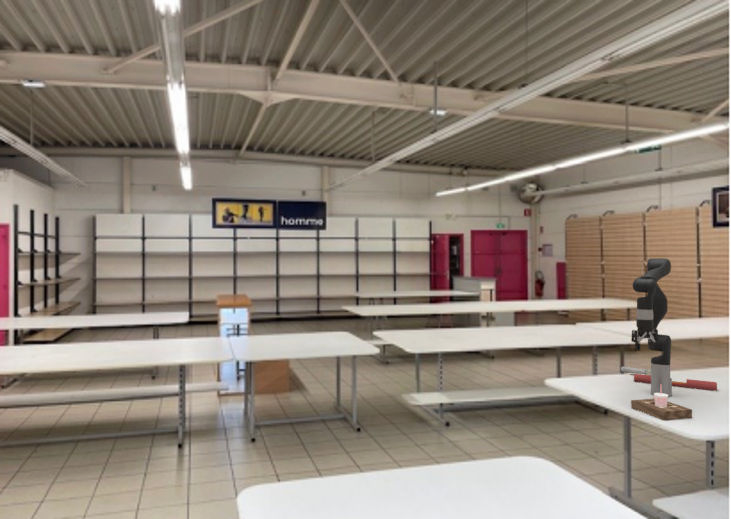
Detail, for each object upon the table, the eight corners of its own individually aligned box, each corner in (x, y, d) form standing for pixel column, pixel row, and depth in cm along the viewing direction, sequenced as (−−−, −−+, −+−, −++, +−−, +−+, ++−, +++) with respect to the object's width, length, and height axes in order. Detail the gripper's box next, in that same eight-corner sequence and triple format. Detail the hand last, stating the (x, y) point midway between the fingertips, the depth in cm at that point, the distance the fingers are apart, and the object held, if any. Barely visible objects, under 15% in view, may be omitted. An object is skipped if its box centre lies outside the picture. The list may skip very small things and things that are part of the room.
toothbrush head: (625, 365, 340) (656, 368, 317) (626, 375, 339) (657, 379, 316) (618, 366, 339) (650, 368, 315) (619, 376, 338) (651, 379, 314)
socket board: (657, 406, 258) (657, 397, 258) (692, 418, 238) (692, 409, 238) (631, 408, 254) (631, 399, 254) (663, 420, 234) (663, 411, 235)
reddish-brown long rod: (716, 390, 293) (716, 381, 293) (717, 392, 288) (717, 383, 288) (634, 381, 314) (634, 373, 314) (633, 382, 310) (633, 374, 310)
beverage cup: (671, 414, 244) (671, 385, 244) (661, 415, 242) (661, 385, 243) (660, 410, 250) (660, 382, 250) (650, 411, 248) (650, 383, 248)
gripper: (650, 316, 262) (650, 347, 262) (627, 317, 259) (627, 349, 259) (662, 318, 255) (662, 350, 255) (639, 319, 251) (639, 352, 251)
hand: (644, 350), depth 257 cm, fingers open, 8 cm apart
